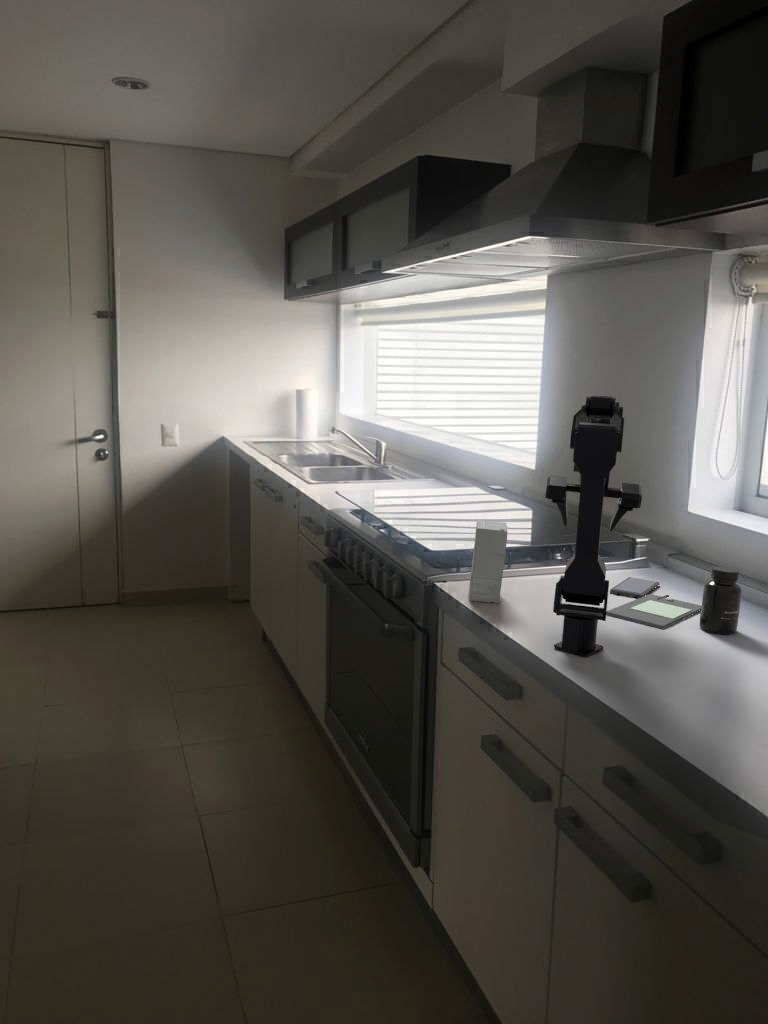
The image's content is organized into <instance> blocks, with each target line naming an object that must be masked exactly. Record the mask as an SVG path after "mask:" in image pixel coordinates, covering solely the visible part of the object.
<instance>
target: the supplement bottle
mask: <svg viewBox="0 0 768 1024" xmlns="http://www.w3.org/2000/svg"><path fill="white" fill-rule="evenodd" d="M739 574H740V571H739V570H738V569H735V568H733V567H732V568H731V567H728V566H713V567H711V574H710V578H711V579H710V580H707V582H705V584H704V586H703V593H702V598H701V600H702V601H701V606H702V607H701V611H700V615H699V623H698V624H699V627H700V629H702V630H703V631H705V632H708V633H711V634H714V635H715V634H716V635H721V636H722V635H723V636H727V635H728V636H729V635H734V634H736V633H737V631H738V630H737V629H738V624H739V617H740V611H741V603H742V595H743V589H742V587H741V585H740V584H738V583H737V582H739Z"/></svg>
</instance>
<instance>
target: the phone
mask: <svg viewBox="0 0 768 1024" xmlns="http://www.w3.org/2000/svg"><path fill="white" fill-rule="evenodd" d="M658 585H659V586H660V581H654V580H648V579H644V578H636V577H631V576H628V577H627V578H625V579H624V580H622V581H621V582H619V583H618V584H617V585H615V586H613V587H612V588H610V589H609V593H610V594H612V593H614V595H616V594H615V592H617V591H618V592H619V593H620V595H619V596H623V595H625V596H624V597H629V596H632V597H631V598H634V597H635V595H638V598H637V599H639V598H641V597H644V596H645V595H647V594H648V592H650V591H652V590H653V589H654V588H655V587H657V586H658ZM659 586H658V587H659ZM658 587H657V588H658ZM654 590H655V589H654ZM654 590H653V591H654ZM653 591H652V592H653ZM650 593H651V592H650ZM648 595H649V594H648Z"/></svg>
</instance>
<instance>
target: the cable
mask: <svg viewBox="0 0 768 1024" xmlns="http://www.w3.org/2000/svg"><path fill="white" fill-rule="evenodd" d="M648 593H649V592H648ZM618 594H620V593H619V592H618V591H617V592H615V594H614V595H616V596H618ZM649 594H650V593H649ZM635 597H636V598H635V599H639V598H638V595H635ZM664 597H666V598H667V597H669V598H670V595H669V594H666V595H663V596H662V597H660V598H658V599H657V600H659V599H661V598H664Z"/></svg>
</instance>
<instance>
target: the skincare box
mask: <svg viewBox="0 0 768 1024" xmlns="http://www.w3.org/2000/svg"><path fill="white" fill-rule="evenodd" d="M475 526H476V527H475V535H474V544H473V554H472V562H471V570H470V576H469V585H468V600H469V601H470V602H483V603H490V602H494V603H493V604H499V603H500V597H501V591H502V590H501V589H502V583H503V582H502V581H503V576H504V570H505V569H504V567H505V561H506V552H507V544H508V543H507V542H508V541H507V540H508V528H509V526H508V524H507V522H506V521H505V522H503V521H495V520H486V519H477V520H476V525H475Z"/></svg>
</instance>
